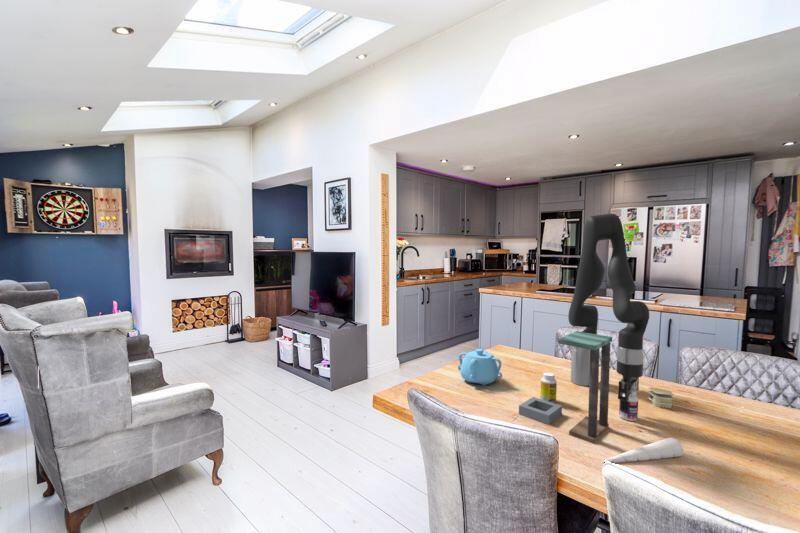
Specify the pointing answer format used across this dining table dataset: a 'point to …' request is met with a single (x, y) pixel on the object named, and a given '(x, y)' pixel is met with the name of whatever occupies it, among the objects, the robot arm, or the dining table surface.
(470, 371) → the decorative pot
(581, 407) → the dining table surface
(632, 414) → the pill bottle
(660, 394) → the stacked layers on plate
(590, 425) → the green-topped post stand
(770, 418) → the dining table surface
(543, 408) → the socket
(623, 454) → the unicorn horn
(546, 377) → the supplement bottle
